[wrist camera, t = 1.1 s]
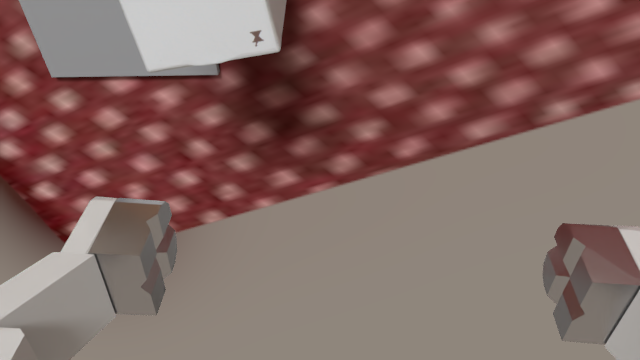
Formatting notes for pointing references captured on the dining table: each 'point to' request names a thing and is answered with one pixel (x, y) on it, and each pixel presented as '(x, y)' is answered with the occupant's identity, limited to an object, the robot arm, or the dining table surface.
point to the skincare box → (203, 30)
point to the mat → (91, 40)
